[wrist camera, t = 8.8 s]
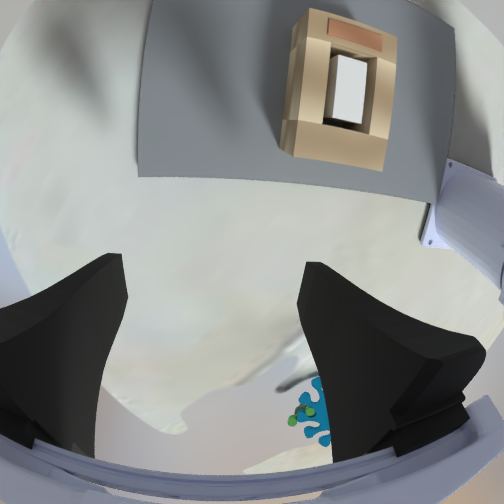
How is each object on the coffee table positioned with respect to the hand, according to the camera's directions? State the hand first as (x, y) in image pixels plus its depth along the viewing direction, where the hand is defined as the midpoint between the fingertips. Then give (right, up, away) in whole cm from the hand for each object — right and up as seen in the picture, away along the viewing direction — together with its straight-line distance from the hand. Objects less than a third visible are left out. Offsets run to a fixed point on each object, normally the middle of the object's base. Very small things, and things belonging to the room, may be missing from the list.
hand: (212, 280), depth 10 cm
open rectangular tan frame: (+6, +11, +4) cm, 13 cm away
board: (+6, +13, +4) cm, 15 cm away
